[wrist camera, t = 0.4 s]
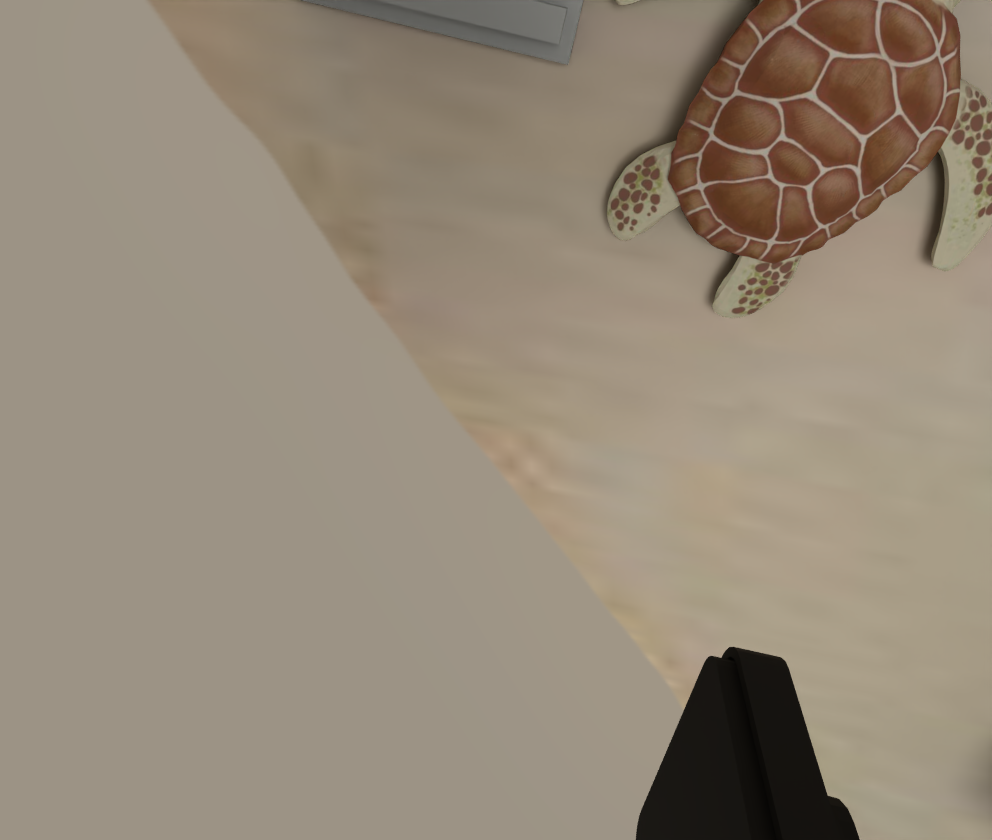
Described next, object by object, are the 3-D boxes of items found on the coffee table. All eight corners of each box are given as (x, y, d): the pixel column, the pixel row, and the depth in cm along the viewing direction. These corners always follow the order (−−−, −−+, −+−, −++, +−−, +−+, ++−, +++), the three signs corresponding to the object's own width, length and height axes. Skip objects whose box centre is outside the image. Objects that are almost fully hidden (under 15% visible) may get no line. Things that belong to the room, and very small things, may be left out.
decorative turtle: (1140, 66, 31) (1231, 79, 27) (815, 381, 38) (845, 431, 34) (785, -278, 28) (823, -329, 23) (498, 139, 35) (486, 160, 30)
